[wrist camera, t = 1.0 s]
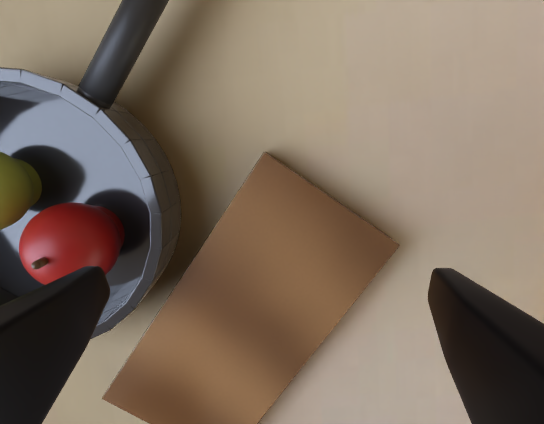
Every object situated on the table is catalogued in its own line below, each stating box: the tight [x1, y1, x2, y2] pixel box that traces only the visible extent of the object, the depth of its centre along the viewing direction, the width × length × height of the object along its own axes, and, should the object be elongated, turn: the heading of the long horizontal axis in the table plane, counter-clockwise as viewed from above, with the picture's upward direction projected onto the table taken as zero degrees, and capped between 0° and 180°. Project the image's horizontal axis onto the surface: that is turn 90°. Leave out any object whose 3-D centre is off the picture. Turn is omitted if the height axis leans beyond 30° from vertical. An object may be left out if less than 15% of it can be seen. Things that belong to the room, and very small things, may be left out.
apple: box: [19, 202, 125, 285], centre depth 19 cm, size 5×5×6 cm
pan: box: [0, 67, 181, 339], centre depth 20 cm, size 16×16×4 cm
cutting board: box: [102, 152, 399, 424], centre depth 23 cm, size 22×11×2 cm, turn 146°
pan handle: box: [77, 0, 169, 108], centre depth 17 cm, size 10×2×2 cm, turn 146°
